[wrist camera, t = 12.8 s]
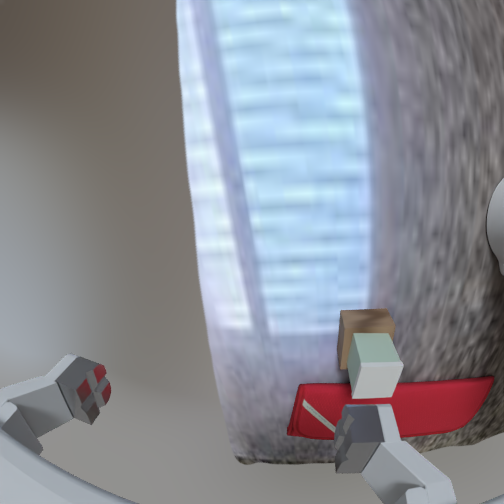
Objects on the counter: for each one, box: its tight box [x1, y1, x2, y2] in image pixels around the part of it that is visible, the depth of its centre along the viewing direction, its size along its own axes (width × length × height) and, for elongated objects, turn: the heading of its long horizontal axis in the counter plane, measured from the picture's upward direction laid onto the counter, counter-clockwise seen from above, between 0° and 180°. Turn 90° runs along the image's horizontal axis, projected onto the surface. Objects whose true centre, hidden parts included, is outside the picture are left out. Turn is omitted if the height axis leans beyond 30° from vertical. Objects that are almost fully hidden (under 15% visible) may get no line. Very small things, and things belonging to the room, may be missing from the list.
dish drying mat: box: [287, 376, 494, 440], centre depth 45 cm, size 16×41×4 cm, turn 86°
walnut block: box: [337, 308, 395, 369], centre depth 39 cm, size 7×7×5 cm
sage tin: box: [347, 333, 404, 399], centre depth 34 cm, size 5×5×7 cm
